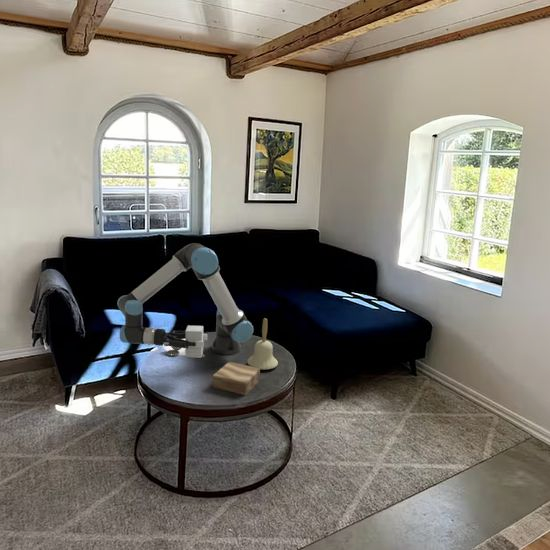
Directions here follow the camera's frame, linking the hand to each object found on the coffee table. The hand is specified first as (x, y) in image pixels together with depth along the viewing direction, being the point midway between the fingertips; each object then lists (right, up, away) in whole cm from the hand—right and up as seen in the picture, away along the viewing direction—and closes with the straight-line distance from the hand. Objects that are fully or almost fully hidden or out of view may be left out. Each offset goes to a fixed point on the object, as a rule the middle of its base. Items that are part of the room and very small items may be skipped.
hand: (205, 340), depth 221 cm
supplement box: (-5, -7, +2) cm, 9 cm away
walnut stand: (+14, -20, +4) cm, 25 cm away
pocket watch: (-21, -11, +33) cm, 41 cm away
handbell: (+25, -16, +25) cm, 39 cm away
